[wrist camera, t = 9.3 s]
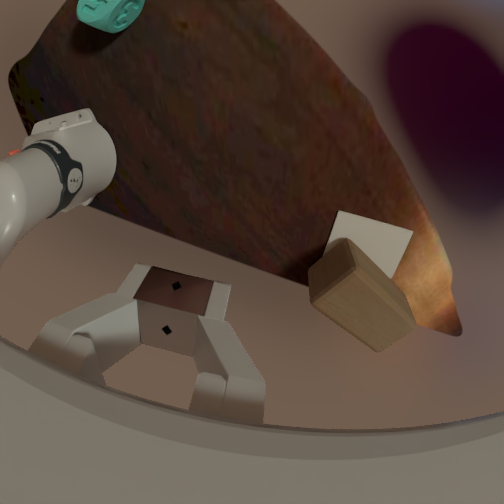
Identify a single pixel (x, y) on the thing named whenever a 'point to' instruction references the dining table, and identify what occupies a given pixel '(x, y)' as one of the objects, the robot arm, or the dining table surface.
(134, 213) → the dining table surface
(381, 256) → the mat
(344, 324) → the wooden block
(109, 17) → the decorative dice
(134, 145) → the dining table surface
